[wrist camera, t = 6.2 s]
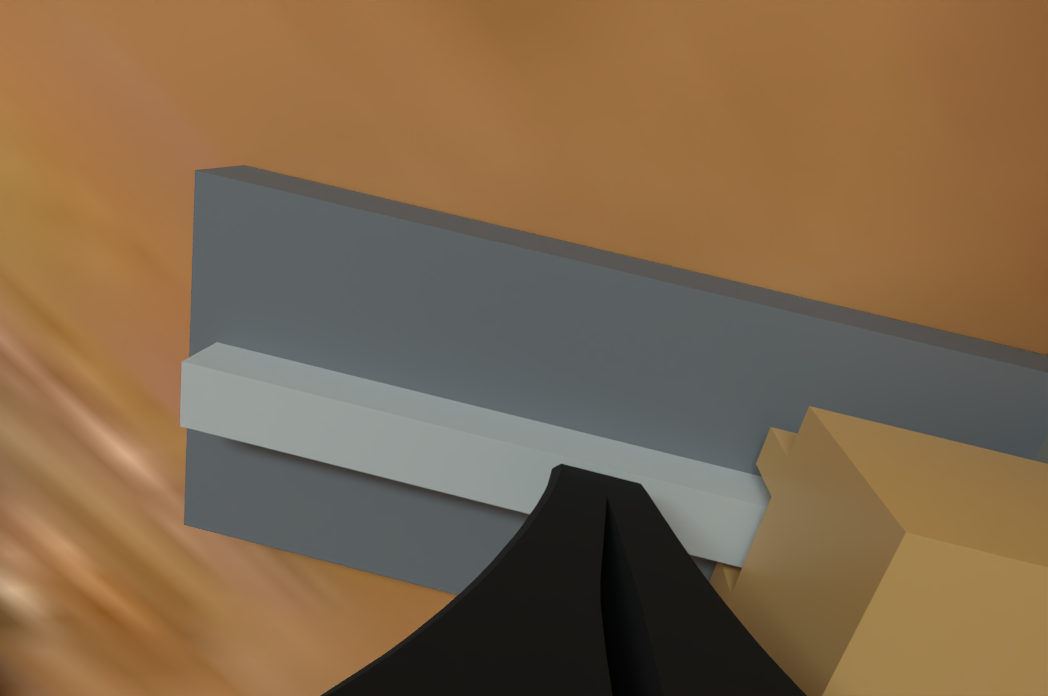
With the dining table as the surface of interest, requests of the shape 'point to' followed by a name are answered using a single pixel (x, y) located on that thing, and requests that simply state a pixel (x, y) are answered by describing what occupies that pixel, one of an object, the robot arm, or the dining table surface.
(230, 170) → the track
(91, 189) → the dining table surface
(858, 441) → the sliding carriage
